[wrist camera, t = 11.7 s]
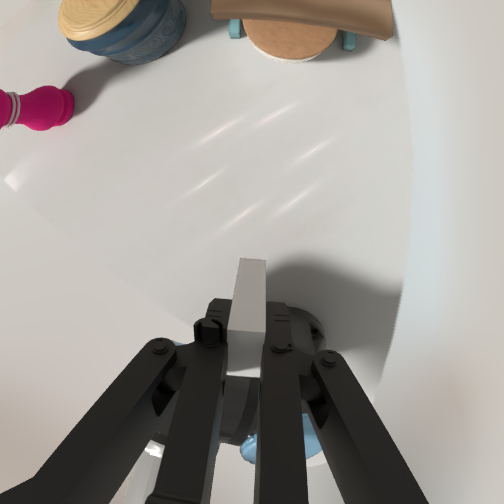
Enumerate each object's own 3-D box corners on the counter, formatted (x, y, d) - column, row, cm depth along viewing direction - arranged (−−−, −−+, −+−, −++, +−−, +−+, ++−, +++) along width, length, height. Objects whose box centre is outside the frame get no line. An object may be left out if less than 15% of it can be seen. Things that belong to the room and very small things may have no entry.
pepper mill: (84, 104, 34) (-12, 107, 16) (59, 137, 37) (-33, 158, 18) (63, 78, 32) (-28, 74, 14) (40, 111, 34) (-49, 122, 16)
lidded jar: (280, -6, 27) (284, -37, 19) (340, 38, 30) (360, 16, 21) (230, 41, 31) (220, 17, 22) (291, 86, 33) (299, 73, 25)
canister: (199, 41, 31) (156, -10, 15) (119, 81, 33) (42, 67, 17) (173, -19, 26) (128, -77, 10) (100, 20, 28) (30, -10, 12)
